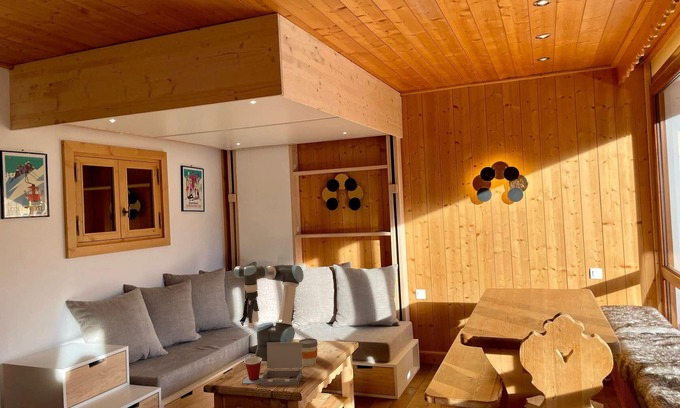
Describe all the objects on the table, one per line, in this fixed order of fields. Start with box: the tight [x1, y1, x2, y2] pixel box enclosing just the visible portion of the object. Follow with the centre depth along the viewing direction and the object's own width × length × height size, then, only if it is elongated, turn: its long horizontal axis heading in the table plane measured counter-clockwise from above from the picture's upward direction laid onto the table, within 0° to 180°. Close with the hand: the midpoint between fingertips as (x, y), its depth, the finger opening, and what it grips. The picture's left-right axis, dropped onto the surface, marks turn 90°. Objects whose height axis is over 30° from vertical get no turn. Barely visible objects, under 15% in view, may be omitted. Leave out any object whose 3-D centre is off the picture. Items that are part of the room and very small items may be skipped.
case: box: [260, 369, 303, 387], centre depth 321 cm, size 17×22×4 cm
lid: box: [266, 341, 303, 371], centre depth 330 cm, size 16×22×2 cm
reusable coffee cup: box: [298, 338, 319, 367], centre depth 351 cm, size 13×13×15 cm
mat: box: [241, 375, 264, 385], centre depth 324 cm, size 12×11×1 cm
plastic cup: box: [243, 356, 263, 381], centre depth 324 cm, size 11×11×12 cm
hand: (253, 324), depth 334 cm, fingers open, 13 cm apart
